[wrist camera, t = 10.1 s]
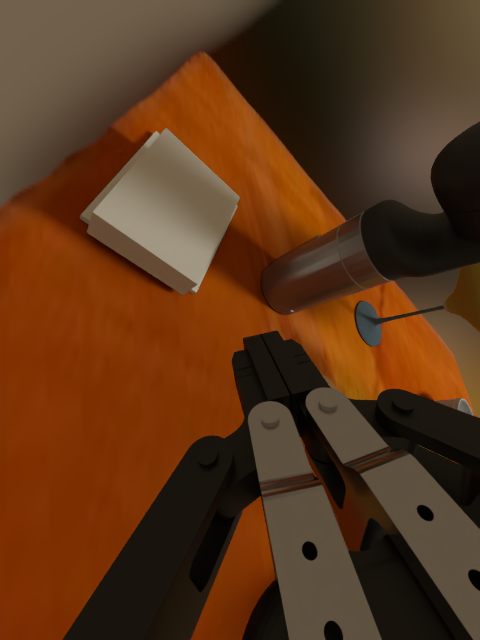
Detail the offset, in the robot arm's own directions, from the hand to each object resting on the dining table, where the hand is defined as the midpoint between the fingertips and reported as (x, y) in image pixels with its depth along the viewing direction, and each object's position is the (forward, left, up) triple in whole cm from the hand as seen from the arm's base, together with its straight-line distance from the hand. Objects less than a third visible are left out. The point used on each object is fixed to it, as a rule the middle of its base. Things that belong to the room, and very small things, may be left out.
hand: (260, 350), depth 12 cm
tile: (-11, -5, -18) cm, 22 cm away
